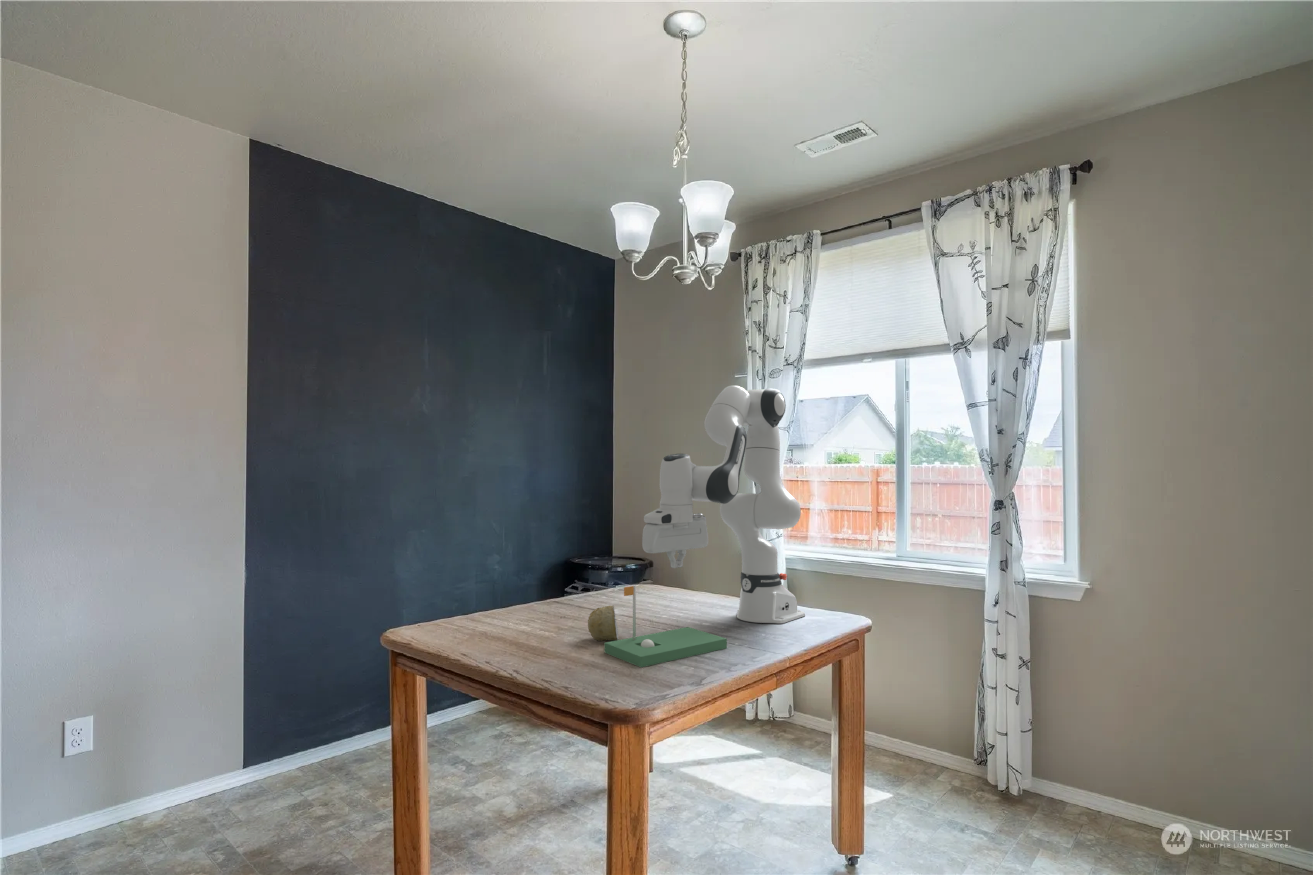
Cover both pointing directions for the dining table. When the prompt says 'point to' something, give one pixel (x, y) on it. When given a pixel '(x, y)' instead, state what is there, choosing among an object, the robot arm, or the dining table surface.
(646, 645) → the ball
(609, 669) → the dining table surface
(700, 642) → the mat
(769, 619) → the robot arm
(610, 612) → the coral
